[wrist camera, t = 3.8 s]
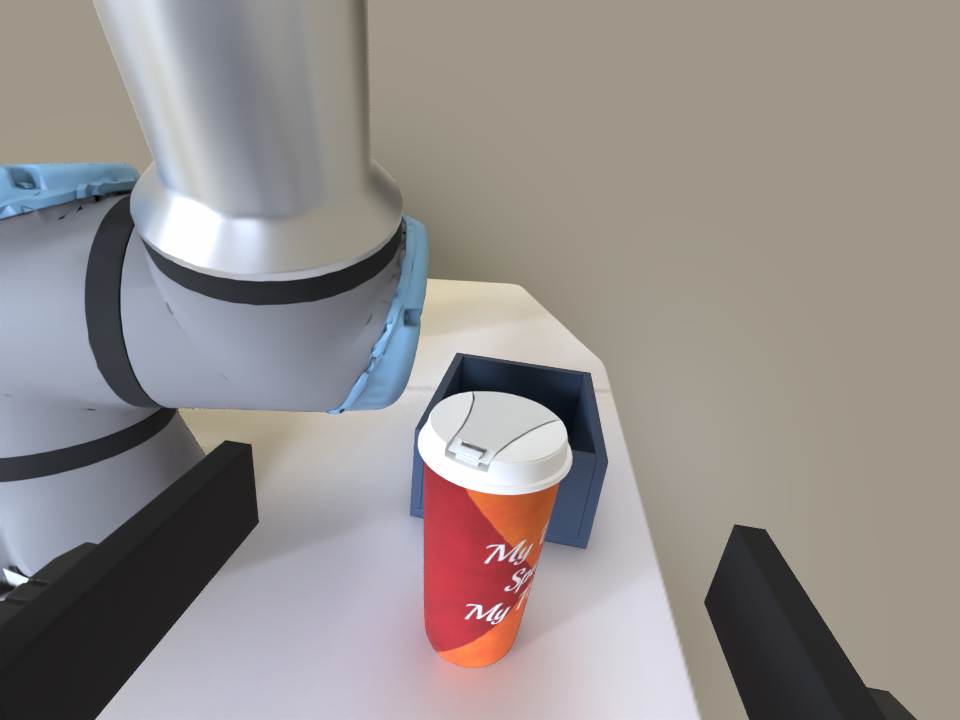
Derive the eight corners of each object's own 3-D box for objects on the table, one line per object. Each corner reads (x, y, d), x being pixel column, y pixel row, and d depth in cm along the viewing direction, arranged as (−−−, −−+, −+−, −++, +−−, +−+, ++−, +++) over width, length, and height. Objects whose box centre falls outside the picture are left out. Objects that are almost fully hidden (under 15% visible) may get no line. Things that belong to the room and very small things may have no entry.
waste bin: (409, 515, 36) (414, 428, 33) (450, 418, 50) (456, 352, 47) (586, 549, 34) (608, 461, 31) (576, 439, 49) (590, 372, 46)
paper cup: (503, 718, 23) (547, 492, 18) (379, 643, 26) (386, 430, 21) (551, 602, 30) (594, 412, 24) (448, 553, 33) (467, 373, 27)
